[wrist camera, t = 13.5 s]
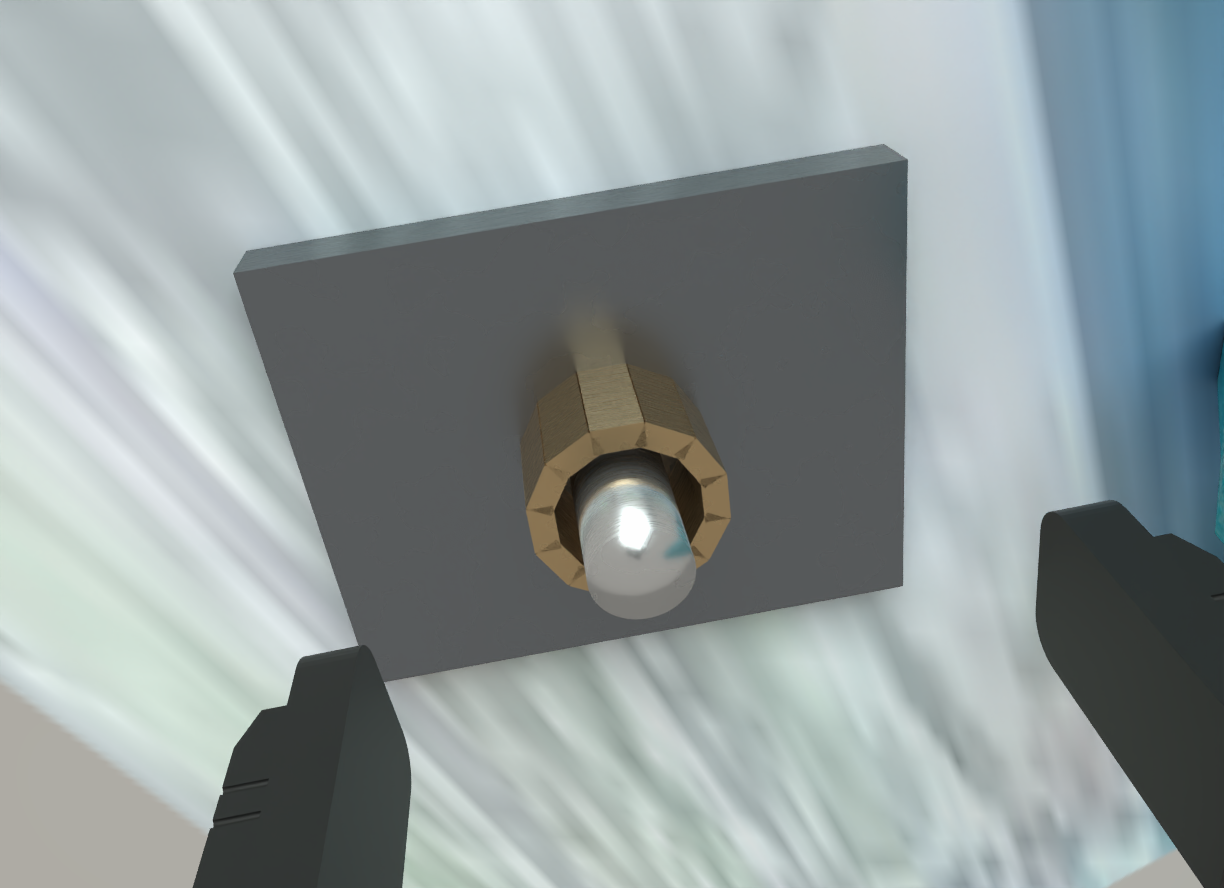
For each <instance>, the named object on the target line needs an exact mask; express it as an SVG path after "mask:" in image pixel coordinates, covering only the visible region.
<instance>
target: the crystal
mask: <svg viewBox="0 0 1224 888" xmlns="http://www.w3.org/2000/svg"><path fill="white" fill-rule="evenodd" d="M1217 388H1218V409H1219V429H1220V450H1221V463H1220V476H1219V488H1218V501H1217V513H1216V526H1215V534H1216V535H1217V536H1218V538H1219V539H1220V540H1221V541H1222V543H1223V544H1224V342H1223V348H1222V355H1221V361H1220V368H1219V374H1218V380H1217Z"/></svg>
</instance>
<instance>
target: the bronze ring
mask: <svg viewBox="0 0 1224 888" xmlns="http://www.w3.org/2000/svg"><path fill="white" fill-rule="evenodd" d="M640 447H641V448H645V449H648V450H651V451H655V452H658V453H661V454H664V455H668V456H671V457H674V458H678V459H677V461H676V463H675V465H674V467H673V469H672V471H671V473H670V475H669V477H668V479H669V482H670V485H671V488H672V491H673V494H674V497H675V501H676V504H677V507H678V510H679V513H680V516H681V519H682V522H683V525H684V528H685V531H686V534H687V537H688V540H689V543H690V546H691V549H692V552H693V555H694V559H695V563H696V569H697V568H699V567H700V566H701V565H703V564H704V563H706V562H707V561H708V559H710V557H711V556H712V554H713V552H714V550H715V548H716V546H717V544H718V542H719V540H720V539H721V537H722V535H723V533H724V531H725V529H726V527H727V525H728V524H729V522H730V520H731V512H730V501H729V490H728V479H727V473H726V471H725V468H724V466H723V464H722V461H721V459H720V457H719V454H718V452H717V450H716V447H715V445H714V443H713V440H712V438H711V436H710V433H709V431H708V429H707V426H706V424H705V422H704V419H703V417H702V415H701V412H700V411H699V409H698V408H697V407H696V406H695V405H694V404H693V402H692V401H691V400H690V399H689V398H688V396H687V395H686V394H685V393H684V392H683V391H682V389H681V388H680V387H679V386H678V385H677V383H676V382H675V381H674V380H673V379H672V378H670V377H667V376H664V375H661V374H658V373H655V372H652V371H648V370H645V369H642V368H639V367H636V366H633V365H630V364H626V363H625V364H619V365H613V366H608V367H602V368H596V369H590V370H585V371H579V372H577V373H574V374H573V375H572V376H570V377H569V378H568V379H566V380H565V381H564V382H562V383H561V384H560V385H559V386H557V387H556V388H555V389H553V390H552V391H551V392H549V393H548V394H547V395H546V396H544V397H543V398H542V399H540V400H539V401H538V403H536V406H535V408H534V411H533V413H532V416H531V418H530V421H529V423H528V425H527V428H526V430H525V433H524V435H523V438H522V440H521V443H520V448H521V460H522V471H523V483H524V495H525V506H526V514H527V518H528V523H529V528H530V532H531V537H532V542H533V546H534V551H535V553H536V555H537V556H538V557H539V558H540V559H541V560H542V561H543V562H544V563H545V564H546V565H547V566H548V567H549V568H550V569H551V570H552V571H553V572H555V573H556V574H557V575H558V576H559V577H560V578H561V579H562V580H563V581H564V582H565V583H566V584H567V585H569V586H571V587H575V588H579V589H583V590H586V591H589V589H588V585H587V579H586V573H585V567H584V561H583V555H582V549H581V543H580V537H579V530H578V524H577V518H576V512H575V506H574V500H573V497H572V496H571V495H570V494H569V493H568V492H567V491H566V490H565V489H564V487H565V485H566V482H567V480H568V478H569V477H571V476H572V475H573V474H575V473H576V472H577V471H579V470H580V469H581V468H583V467H584V466H586V465H587V464H588V463H590V462H591V461H592V460H594V459H595V458H596V457H598V456H599V455H601V454H606V453H612V452H618V451H623V450H629V449H634V448H640Z"/></svg>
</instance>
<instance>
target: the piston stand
mask: <svg viewBox="0 0 1224 888" xmlns="http://www.w3.org/2000/svg"><path fill="white" fill-rule="evenodd" d="M907 172H908V160H907V159H906V158H904V157H903V156H901V155H900V154H898V153H897V152H895V151H893V150H892V149H890V148H889V147H887V146H886V145H884V144H883V145H877V146H871V147H865V148H859V149H853V150H847V151H841V152H835V153H829V154H823V155H817V156H811V157H805V158H799V159H793V160H787V161H781V162H775V163H769V164H763V165H757V166H751V167H745V168H739V169H733V170H727V171H721V172H716V173H710V174H704V175H698V176H692V177H686V178H680V179H674V180H668V181H662V182H656V183H650V184H644V185H638V186H632V187H626V188H620V189H614V190H608V191H602V192H596V193H590V194H584V195H578V196H572V197H566V198H560V199H554V200H548V201H542V202H536V203H530V204H525V205H519V206H513V207H507V208H501V209H495V210H489V211H483V212H477V213H471V214H465V215H459V216H453V217H447V218H441V219H435V220H429V221H423V222H417V223H411V224H405V225H399V226H393V227H387V228H381V229H375V230H369V231H363V232H357V233H351V234H345V235H340V236H334V237H328V238H322V239H316V240H310V241H304V242H298V243H292V244H286V245H280V246H274V247H268V248H262V249H256V250H250V251H246V253H245V254H244V256H243V258H242V259H241V261H240V263H239V264H238V266H237V268H236V269H235V271H234V273H233V274H234V277H235V280H236V283H237V286H238V289H239V292H240V295H241V298H242V301H243V304H244V307H245V310H246V313H247V316H248V319H249V322H250V325H251V328H252V331H253V334H254V337H255V340H256V343H257V345H258V348H259V351H260V354H261V357H262V360H263V363H264V366H265V369H266V372H267V375H268V378H269V381H270V384H271V387H272V390H273V393H274V396H275V399H276V402H277V405H278V408H279V411H280V414H281V417H282V420H283V423H284V426H285V428H286V431H287V434H288V437H289V440H290V443H291V446H292V449H293V452H294V455H295V458H296V461H297V464H298V467H299V470H300V473H301V476H302V479H303V482H304V485H305V488H306V491H307V494H308V497H309V500H310V503H311V506H312V509H313V512H314V514H315V517H316V520H317V523H318V526H319V529H320V532H321V535H322V538H323V541H324V544H325V547H326V550H327V553H328V556H329V559H330V562H331V565H332V568H333V571H334V574H335V577H336V580H337V583H338V586H339V589H340V592H341V595H342V597H343V600H344V603H345V606H346V609H347V612H348V615H349V618H350V621H351V624H352V627H353V630H354V633H355V636H356V639H357V642H358V645H359V646H361V645H366V646H367V647H368V648H369V649H370V650H371V652H372V654H373V656H374V659H375V661H376V664H377V666H378V669H379V671H380V674H381V677H382V679H383V682H387V681H392V680H397V679H403V678H408V677H414V676H419V675H425V674H430V673H435V672H441V671H446V670H452V669H457V668H462V667H468V666H473V665H479V664H484V663H489V662H495V661H500V660H506V659H511V658H516V657H522V656H527V655H533V654H538V653H543V652H549V651H554V650H560V649H565V648H570V647H576V646H581V645H587V644H592V643H598V642H603V641H608V640H614V639H619V638H625V637H630V636H635V635H641V634H646V633H652V632H657V631H662V630H668V629H673V628H679V627H684V626H689V625H695V624H700V623H706V622H711V621H716V620H722V619H727V618H733V617H738V616H743V615H749V614H754V613H760V612H765V611H771V610H776V609H781V608H787V607H792V606H798V605H803V604H808V603H814V602H819V601H825V600H830V599H835V598H841V597H846V596H852V595H857V594H862V593H868V592H873V591H879V590H884V589H889V588H895V587H900V586H903V518H904V432H905V345H906V259H907ZM625 363H626V364H630V365H633V366H636V367H639V368H642V369H645V370H648V371H652V372H655V373H658V374H661V375H664V376H667V377H670V378H672V379H673V380H674V381H675V382H676V383H677V385H678V386H679V387H680V388H681V389H682V391H683V392H684V393H685V394H686V395H687V396H688V398H689V399H690V400H691V401H692V402H693V404H694V405H695V406H696V407H697V408H698V409H699V411H700V412H701V415H702V417H703V419H704V422H705V424H706V426H707V429H708V431H709V433H710V436H711V438H712V440H713V443H714V445H715V447H716V450H717V452H718V454H719V457H720V459H721V461H722V464H723V466H724V468H725V471H726V473H727V479H728V490H729V501H730V512H731V520H730V522H729V524H728V525H727V527H726V529H725V531H724V533H723V535H722V537H721V539H720V540H719V542H718V544H717V546H716V548H715V550H714V552H713V554H712V556H711V557H710V559H708V561H707V562H706V563H704V564H703V565H701V566H700V567H699V568H697V569H696V563H695V559H694V555H693V552H692V549H691V546H690V543H689V540H688V537H687V534H686V531H685V528H684V525H683V522H682V519H681V516H680V513H679V510H678V507H677V504H676V501H675V497H674V494H673V491H672V488H671V485H670V482H669V479H668V477H669V475H670V473H671V471H672V469H673V467H674V465H675V463H676V461H677V459H678V458H674V457H671V456H668V455H664V454H661V453H658V452H655V451H651V450H648V449H645V448H641V447H640V448H634V449H629V450H623V451H618V452H612V453H606V454H601V455H599V456H598V457H596V458H595V459H594V460H592V461H591V462H590V463H588V464H587V465H586V466H584V467H583V468H581V469H580V470H579V471H577V472H576V473H575V474H573V475H572V476H571V477H569V478H568V480H567V482H566V485H565V487H564V489H565V490H566V491H567V492H568V493H569V494H570V495H571V496H572V497H573V500H574V506H575V512H576V518H577V524H578V530H579V537H580V543H581V549H582V555H583V561H584V567H585V573H586V579H587V585H588V589H589V591H586V590H583V589H579V588H575V587H571V586H569V585H567V584H566V583H565V582H564V581H563V580H562V579H561V578H560V577H559V576H558V575H557V574H556V573H555V572H553V571H552V570H551V569H550V568H549V567H548V566H547V565H546V564H545V563H544V562H543V561H542V560H541V559H540V558H539V557H538V556H537V555H536V553H535V551H534V546H533V542H532V537H531V532H530V528H529V523H528V518H527V514H526V506H525V495H524V483H523V471H522V460H521V448H520V443H521V440H522V438H523V435H524V433H525V430H526V428H527V425H528V423H529V421H530V418H531V416H532V413H533V411H534V408H535V406H536V403H538V401H539V400H540V399H542V398H543V397H544V396H546V395H547V394H548V393H549V392H551V391H552V390H553V389H555V388H556V387H557V386H559V385H560V384H561V383H562V382H564V381H565V380H566V379H568V378H569V377H570V376H572V375H573V374H574V373H577V372H579V371H585V370H590V369H596V368H602V367H608V366H613V365H619V364H625Z"/></svg>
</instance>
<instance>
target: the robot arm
mask: <svg viewBox="0 0 1224 888" xmlns="http://www.w3.org/2000/svg"><path fill="white" fill-rule="evenodd" d="M1036 623H1037V629H1038V634H1039V637H1040V641H1041V644H1042V647H1043V650H1044V652H1045V654H1046V657H1047V658H1048V660H1049V662H1050V664H1051V666H1052V667H1053V669H1054V670H1055V672H1056V673H1057V675H1058V676H1059V677H1060V679H1061V680H1062V682H1063V683H1064V685H1065V686H1066V688H1067V689H1068V691H1069V692H1070V693H1071V695H1072V696H1073V698H1074V699H1075V701H1076V702H1077V704H1078V705H1079V707H1080V708H1081V709H1082V711H1083V712H1084V714H1085V715H1086V717H1087V718H1088V720H1089V721H1090V723H1091V724H1092V726H1093V727H1094V728H1095V730H1096V731H1097V733H1098V734H1099V736H1100V737H1101V739H1102V740H1103V742H1104V743H1105V744H1106V746H1107V747H1108V749H1109V750H1110V752H1111V753H1112V755H1113V756H1114V758H1115V759H1116V760H1117V762H1118V763H1119V765H1120V766H1121V768H1122V769H1123V771H1124V772H1125V774H1126V775H1127V776H1128V778H1129V779H1130V781H1131V782H1132V784H1133V785H1134V787H1135V788H1136V790H1137V791H1138V793H1139V794H1140V795H1141V797H1142V798H1143V800H1144V801H1145V803H1146V804H1147V806H1148V807H1149V809H1150V810H1151V811H1152V813H1153V814H1154V816H1155V817H1156V819H1157V820H1158V822H1159V823H1160V825H1161V826H1162V827H1163V829H1164V830H1165V832H1166V833H1167V835H1168V836H1169V838H1170V839H1171V841H1172V842H1173V843H1174V845H1175V846H1176V848H1177V849H1178V851H1179V852H1180V854H1181V855H1182V857H1183V858H1184V860H1185V861H1186V862H1187V864H1188V865H1189V867H1190V868H1191V870H1192V871H1193V873H1194V874H1195V876H1196V877H1197V878H1198V880H1199V881H1200V883H1201V884H1202V886H1203V887H1204V888H1224V563H1223V562H1222V561H1221V560H1219V559H1218V558H1217V557H1216V556H1214V555H1212V554H1210V553H1208V552H1206V551H1204V550H1202V549H1201V548H1199V547H1197V546H1195V545H1193V544H1191V543H1189V542H1187V541H1185V540H1183V539H1181V538H1179V537H1177V536H1175V535H1173V534H1166V535H1161V536H1156V537H1153V536H1152V535H1151V534H1150V533H1149V532H1148V531H1147V530H1146V529H1145V528H1144V527H1143V526H1142V525H1141V524H1140V523H1139V522H1138V521H1137V519H1136V518H1135V517H1134V516H1133V515H1132V514H1131V513H1130V512H1129V511H1128V510H1127V509H1126V508H1125V507H1124V506H1123V505H1122V504H1120V503H1119V502H1117V501H1114V500H1108V501H1103V502H1098V503H1093V504H1088V505H1082V506H1077V507H1072V508H1067V509H1062V510H1057V511H1052V512H1048V513H1046V515H1045V516H1044V517H1043V520H1042V523H1041V530H1040V546H1039V563H1038V580H1037V597H1036ZM222 788H223V795H220V797H219V800H218V804H217V807H216V810H215V814H214V817H213V823H214V826H213V828H211V829H210V831H209V834H208V838H207V841H206V845H205V848H204V851H203V854H202V858H201V861H200V865H199V868H198V871H197V875H196V878H195V882H194V885H193V888H402V883H403V872H404V861H405V850H406V839H407V829H408V818H409V807H410V796H411V768H410V760H409V753H408V748H407V744H406V740H405V737H404V734H403V731H402V728H401V726H400V723H399V721H398V718H397V715H396V713H395V710H394V708H393V705H392V702H391V700H390V697H389V695H388V692H387V690H386V687H385V684H384V682H383V679H382V677H381V674H380V671H379V669H378V666H377V664H376V661H375V659H374V656H373V654H372V652H371V650H370V649H369V648H368V647H367V646H366V645H361V646H356V647H351V648H346V649H341V650H336V651H330V652H325V653H320V654H315V655H310V656H305V657H302V658H301V659H300V660H299V662H298V664H297V667H296V671H295V675H294V679H293V683H292V687H291V691H290V695H289V699H288V703H287V705H286V706H281V707H276V708H271V709H266V710H262V711H261V712H260V713H259V715H258V716H257V717H256V719H255V720H254V721H253V723H252V724H251V726H250V727H249V728H248V730H247V731H246V732H245V734H244V735H243V736H242V738H241V739H240V740H239V742H238V743H237V744H236V746H235V747H234V749H233V753H232V756H231V759H230V763H229V766H228V770H227V773H226V776H225V780H224V783H223V787H222Z"/></svg>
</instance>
